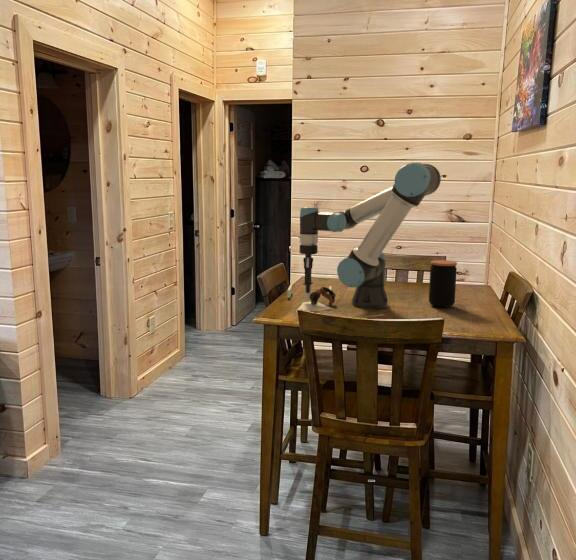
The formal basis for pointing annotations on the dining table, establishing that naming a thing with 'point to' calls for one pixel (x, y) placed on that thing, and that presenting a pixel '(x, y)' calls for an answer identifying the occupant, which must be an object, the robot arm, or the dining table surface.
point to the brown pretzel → (291, 290)
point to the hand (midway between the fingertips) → (307, 299)
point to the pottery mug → (322, 290)
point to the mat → (314, 306)
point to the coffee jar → (442, 283)
